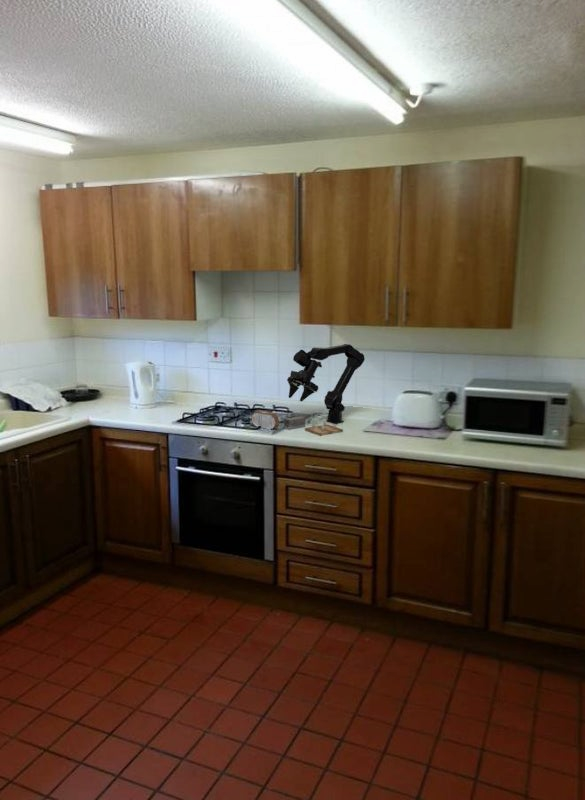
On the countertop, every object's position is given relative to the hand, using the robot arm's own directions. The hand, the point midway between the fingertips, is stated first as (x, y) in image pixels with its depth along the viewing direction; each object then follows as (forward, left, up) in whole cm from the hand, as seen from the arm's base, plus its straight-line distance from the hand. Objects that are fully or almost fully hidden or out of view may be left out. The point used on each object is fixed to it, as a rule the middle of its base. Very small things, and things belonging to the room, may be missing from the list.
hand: (294, 399), depth 312 cm
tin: (+13, -7, -15) cm, 21 cm away
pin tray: (-8, +13, -14) cm, 21 cm away
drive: (0, 0, -14) cm, 15 cm away
